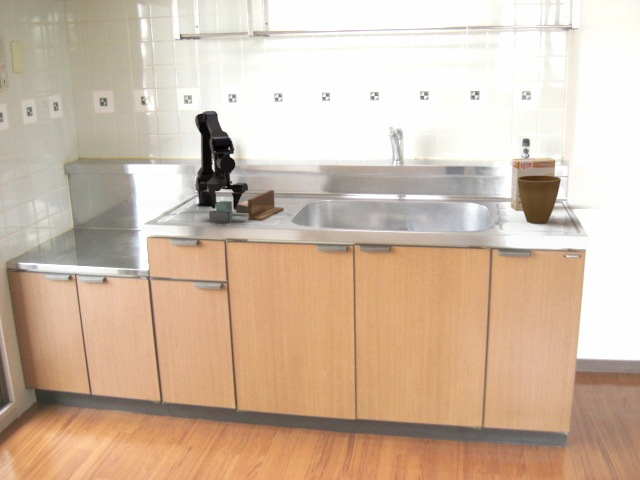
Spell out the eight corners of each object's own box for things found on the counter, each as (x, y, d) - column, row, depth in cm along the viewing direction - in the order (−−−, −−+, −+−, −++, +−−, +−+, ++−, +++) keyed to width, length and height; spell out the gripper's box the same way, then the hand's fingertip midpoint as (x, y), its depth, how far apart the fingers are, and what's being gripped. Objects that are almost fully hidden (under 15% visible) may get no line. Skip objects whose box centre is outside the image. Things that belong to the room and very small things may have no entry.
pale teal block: (217, 221, 272) (215, 203, 270) (223, 218, 277) (222, 200, 275) (226, 221, 271) (225, 203, 269) (232, 218, 275) (231, 201, 273)
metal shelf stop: (209, 221, 271) (209, 211, 270) (211, 221, 272) (210, 211, 271) (228, 223, 268) (227, 212, 267) (229, 222, 269) (229, 212, 268)
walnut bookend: (248, 219, 273) (247, 199, 271) (271, 209, 291) (270, 190, 289) (261, 220, 271) (261, 200, 269) (283, 210, 289) (282, 190, 287)
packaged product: (246, 196, 296) (269, 197, 294) (247, 207, 298) (269, 208, 295) (228, 204, 280) (252, 205, 277) (229, 216, 281) (252, 217, 278)
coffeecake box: (547, 205, 284) (549, 157, 279) (553, 209, 277) (556, 159, 273) (510, 207, 284) (512, 158, 279) (515, 210, 277) (517, 160, 272)
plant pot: (559, 218, 262) (562, 175, 258) (556, 227, 249) (559, 182, 245) (518, 215, 268) (520, 173, 264) (512, 224, 255) (514, 180, 251)
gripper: (189, 171, 265) (192, 212, 269) (233, 172, 258) (236, 214, 262) (204, 166, 275) (207, 206, 279) (247, 168, 268) (249, 208, 272)
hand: (224, 209), depth 272 cm, fingers open, 9 cm apart
